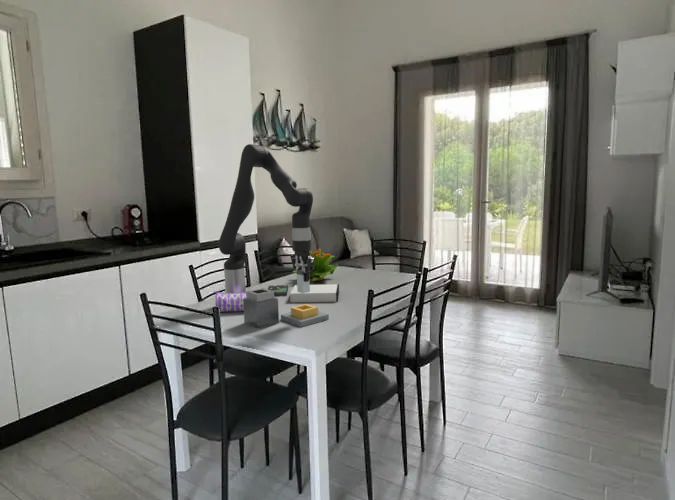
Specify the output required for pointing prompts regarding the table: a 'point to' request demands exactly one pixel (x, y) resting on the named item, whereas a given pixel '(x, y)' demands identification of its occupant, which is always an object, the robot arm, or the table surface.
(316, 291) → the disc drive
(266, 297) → the grey open sleeve
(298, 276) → the plug
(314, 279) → the potted flower
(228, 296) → the pencil case
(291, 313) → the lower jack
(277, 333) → the table surface
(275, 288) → the disk drive
